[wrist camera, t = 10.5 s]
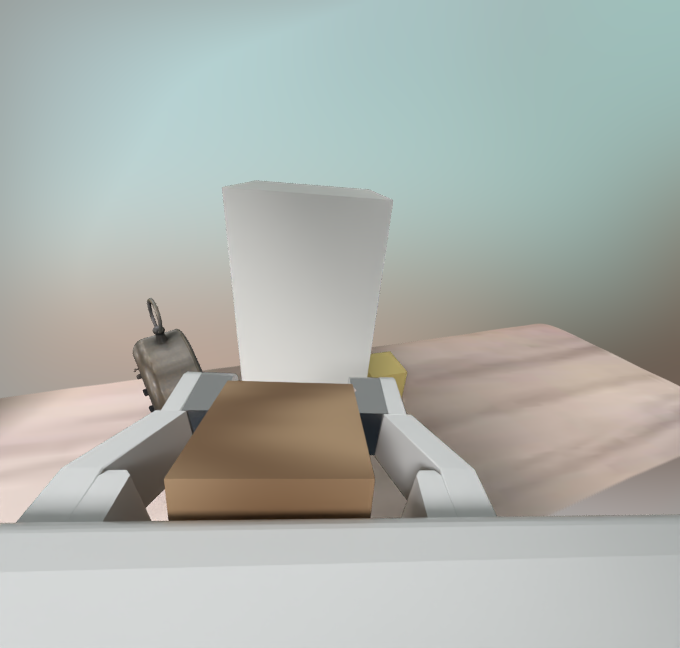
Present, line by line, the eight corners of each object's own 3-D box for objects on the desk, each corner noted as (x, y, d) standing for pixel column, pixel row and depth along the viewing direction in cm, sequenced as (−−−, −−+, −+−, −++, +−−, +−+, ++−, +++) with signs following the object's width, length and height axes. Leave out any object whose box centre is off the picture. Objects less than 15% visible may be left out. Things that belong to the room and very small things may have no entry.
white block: (248, 446, 32) (221, 187, 20) (266, 377, 43) (255, 180, 31) (356, 447, 33) (393, 200, 21) (347, 379, 44) (368, 189, 32)
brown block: (47, 478, 5) (208, 337, 11) (170, 978, 11) (228, 690, 17) (471, 478, 5) (385, 344, 12) (362, 952, 11) (346, 684, 18)
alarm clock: (224, 449, 32) (202, 315, 24) (168, 477, 28) (123, 333, 21) (192, 393, 39) (168, 276, 31) (145, 410, 36) (105, 285, 28)
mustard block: (367, 407, 39) (372, 377, 37) (354, 383, 43) (358, 355, 41) (400, 400, 41) (407, 372, 38) (384, 378, 45) (389, 351, 42)
